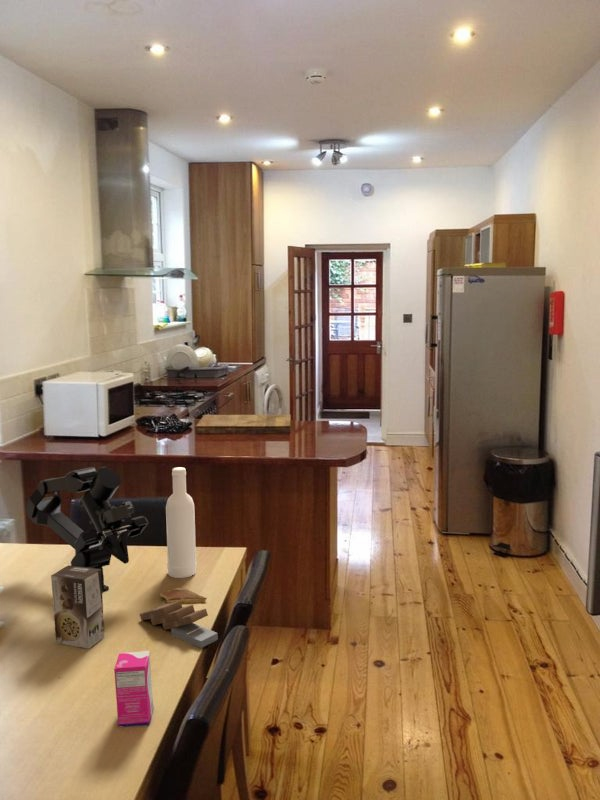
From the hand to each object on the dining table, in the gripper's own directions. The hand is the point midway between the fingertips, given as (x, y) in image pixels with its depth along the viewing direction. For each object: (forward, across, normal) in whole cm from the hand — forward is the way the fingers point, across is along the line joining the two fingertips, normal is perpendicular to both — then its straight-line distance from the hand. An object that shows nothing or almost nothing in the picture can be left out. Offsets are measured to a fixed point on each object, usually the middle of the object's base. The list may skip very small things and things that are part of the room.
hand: (126, 562), depth 174 cm
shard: (+13, +13, +5) cm, 19 cm away
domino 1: (+14, 0, +2) cm, 14 cm away
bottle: (+3, +23, +14) cm, 27 cm away
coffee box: (+13, -17, +4) cm, 22 cm away
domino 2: (+16, 0, -1) cm, 16 cm away
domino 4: (+22, 0, -6) cm, 23 cm away
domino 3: (+19, 0, -4) cm, 20 cm away
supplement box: (+37, -27, -21) cm, 50 cm away
